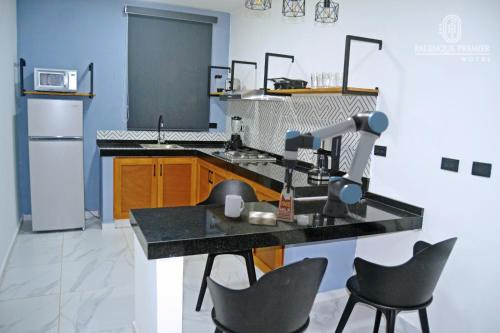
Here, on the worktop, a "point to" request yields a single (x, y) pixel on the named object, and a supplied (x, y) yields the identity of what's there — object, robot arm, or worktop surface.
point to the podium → (262, 218)
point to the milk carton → (286, 207)
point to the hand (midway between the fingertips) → (286, 196)
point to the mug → (233, 205)
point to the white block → (302, 220)
